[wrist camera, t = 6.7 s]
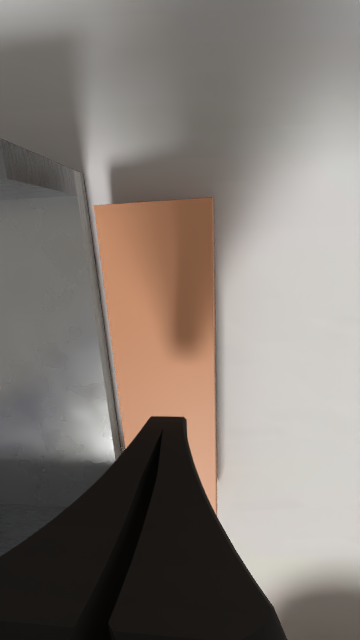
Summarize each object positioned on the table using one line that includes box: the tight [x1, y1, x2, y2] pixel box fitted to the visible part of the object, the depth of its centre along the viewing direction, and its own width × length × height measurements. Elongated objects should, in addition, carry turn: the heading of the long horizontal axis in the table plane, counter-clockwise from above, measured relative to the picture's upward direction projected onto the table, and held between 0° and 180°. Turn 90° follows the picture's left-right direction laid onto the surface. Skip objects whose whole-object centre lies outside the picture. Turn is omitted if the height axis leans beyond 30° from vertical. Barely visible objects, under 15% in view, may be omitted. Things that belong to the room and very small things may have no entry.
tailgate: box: [94, 197, 217, 516], centre depth 14 cm, size 17×1×5 cm
